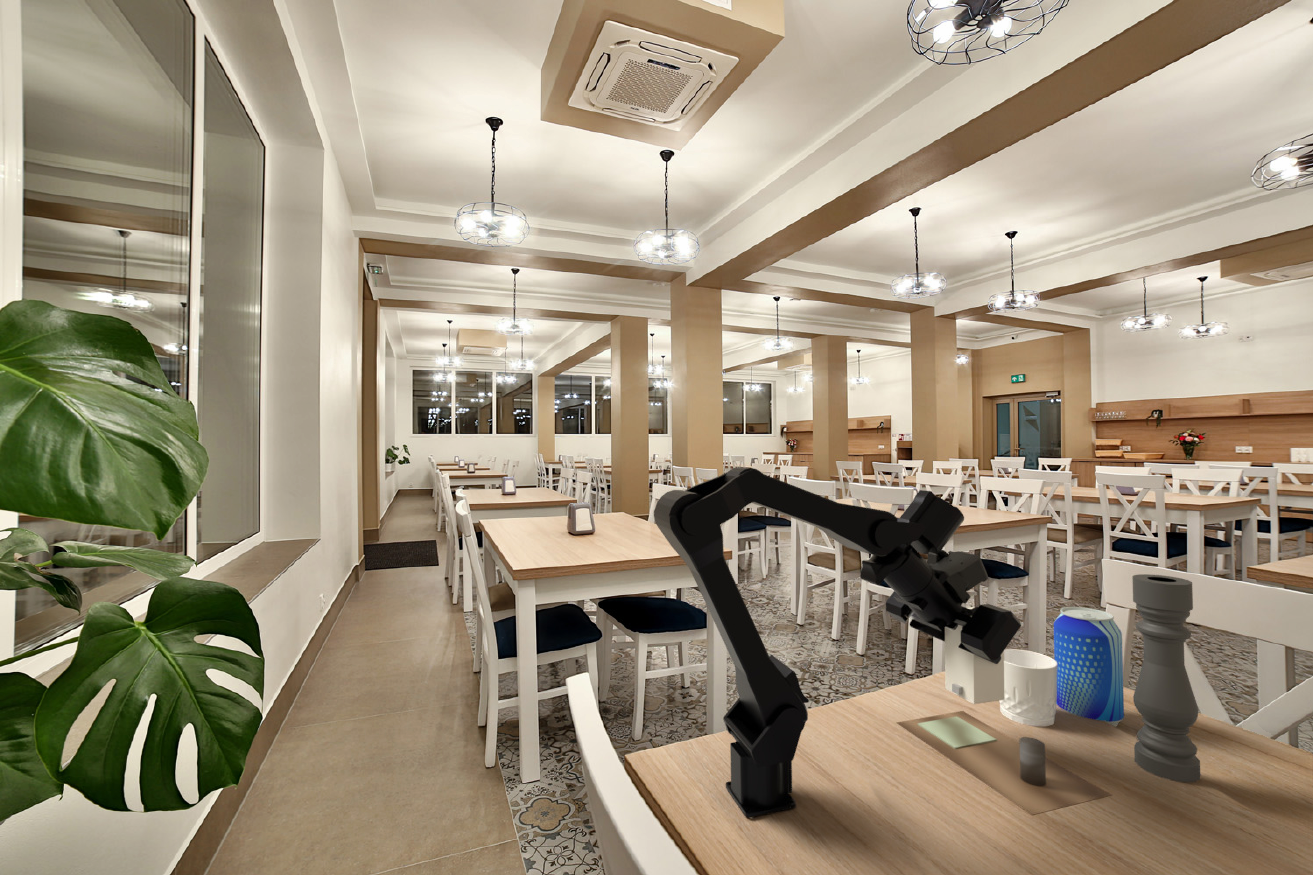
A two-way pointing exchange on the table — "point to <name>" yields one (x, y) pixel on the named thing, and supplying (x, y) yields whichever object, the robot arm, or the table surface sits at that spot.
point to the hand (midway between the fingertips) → (982, 654)
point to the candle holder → (1165, 679)
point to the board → (1004, 762)
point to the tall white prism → (971, 672)
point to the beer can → (1089, 664)
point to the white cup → (1029, 687)
